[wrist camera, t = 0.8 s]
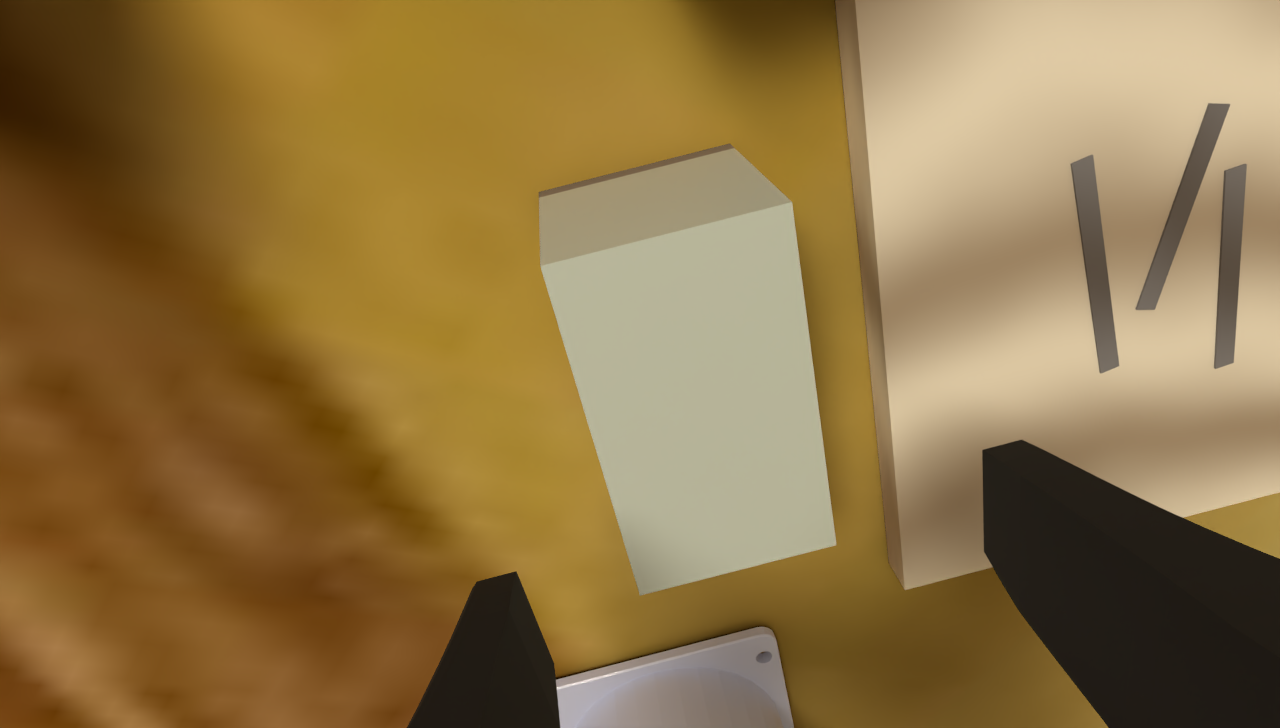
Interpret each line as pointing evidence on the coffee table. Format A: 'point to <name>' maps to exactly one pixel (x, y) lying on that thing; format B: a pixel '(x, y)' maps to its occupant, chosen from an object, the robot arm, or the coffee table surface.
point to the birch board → (1065, 250)
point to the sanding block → (692, 362)
